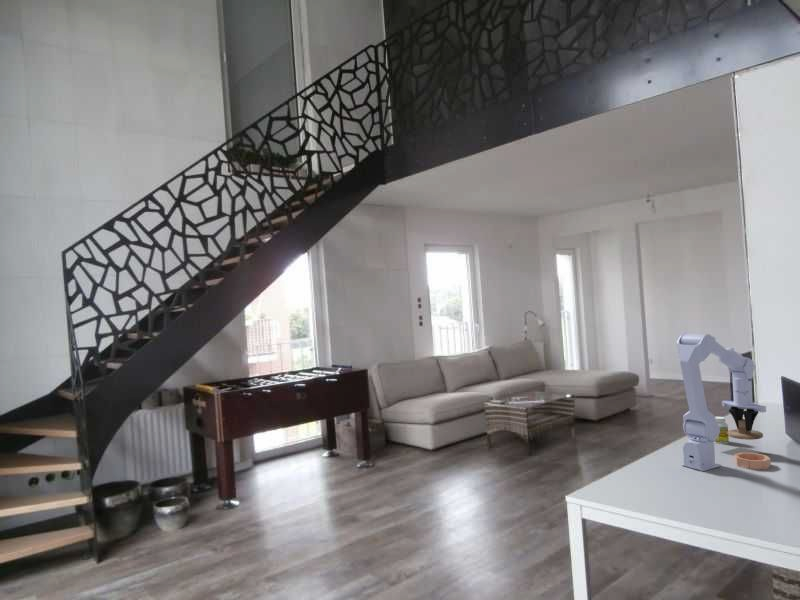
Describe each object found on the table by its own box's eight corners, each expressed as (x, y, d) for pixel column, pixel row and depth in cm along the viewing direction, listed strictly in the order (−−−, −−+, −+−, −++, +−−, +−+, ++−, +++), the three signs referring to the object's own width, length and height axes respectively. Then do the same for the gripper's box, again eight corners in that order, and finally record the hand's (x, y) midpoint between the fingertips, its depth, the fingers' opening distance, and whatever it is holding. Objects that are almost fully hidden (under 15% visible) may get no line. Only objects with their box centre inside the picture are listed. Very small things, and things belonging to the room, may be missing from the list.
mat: (751, 460, 190) (751, 459, 190) (720, 453, 199) (720, 452, 199) (771, 454, 194) (771, 454, 194) (740, 448, 204) (740, 447, 204)
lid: (751, 441, 190) (749, 425, 190) (721, 435, 199) (720, 420, 199) (769, 435, 195) (768, 420, 194) (739, 429, 204) (738, 415, 204)
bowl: (758, 472, 178) (757, 462, 178) (728, 464, 186) (728, 455, 186) (776, 466, 182) (775, 457, 182) (746, 459, 190) (746, 451, 190)
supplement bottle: (722, 440, 216) (720, 415, 216) (732, 443, 210) (730, 418, 210) (709, 441, 215) (708, 416, 215) (719, 445, 210) (717, 419, 210)
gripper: (770, 392, 192) (772, 431, 192) (729, 387, 205) (731, 424, 205) (758, 394, 189) (760, 434, 189) (717, 389, 202) (719, 427, 202)
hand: (744, 429), depth 197 cm, fingers closed on lid, 3 cm apart
